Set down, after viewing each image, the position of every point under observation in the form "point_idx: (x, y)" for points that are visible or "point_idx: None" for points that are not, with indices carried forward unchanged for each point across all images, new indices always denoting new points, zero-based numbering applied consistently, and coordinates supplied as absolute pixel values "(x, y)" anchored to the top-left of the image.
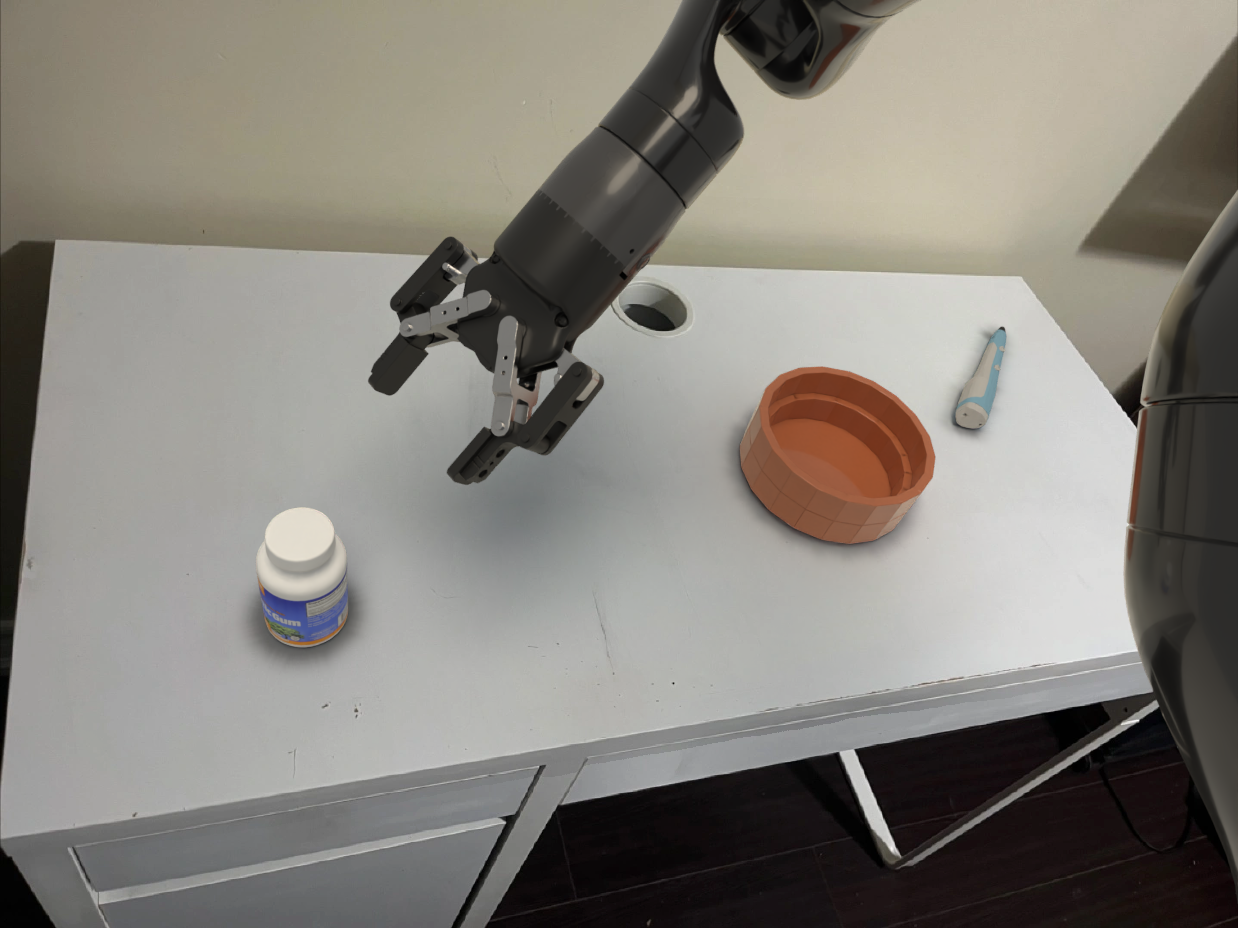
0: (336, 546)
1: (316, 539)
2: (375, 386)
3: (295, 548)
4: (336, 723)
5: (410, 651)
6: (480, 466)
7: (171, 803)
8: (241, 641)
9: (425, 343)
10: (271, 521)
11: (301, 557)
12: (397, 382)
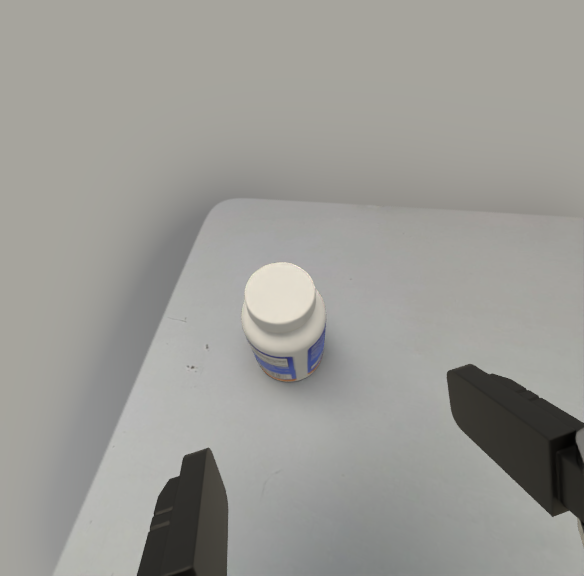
0: (279, 339)
1: (265, 303)
2: (450, 372)
3: (261, 283)
4: (189, 351)
5: (222, 426)
6: (153, 519)
7: (190, 255)
8: None
9: (578, 508)
10: (302, 269)
11: (248, 287)
12: (473, 427)
